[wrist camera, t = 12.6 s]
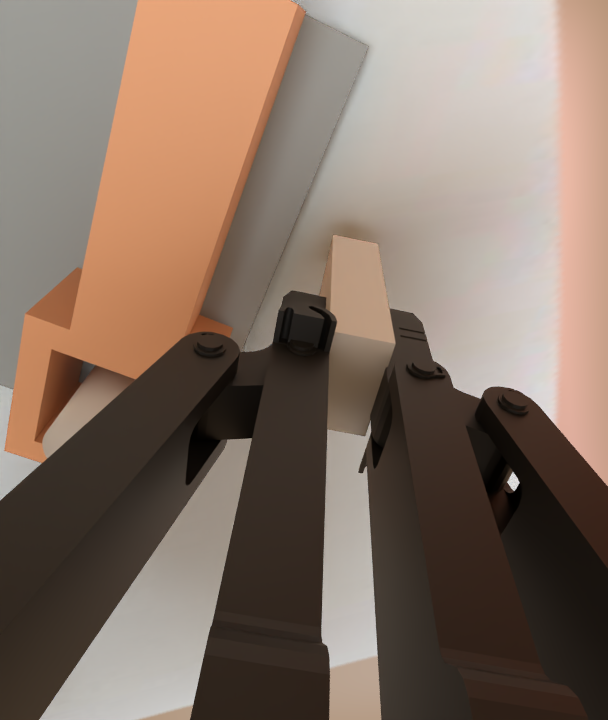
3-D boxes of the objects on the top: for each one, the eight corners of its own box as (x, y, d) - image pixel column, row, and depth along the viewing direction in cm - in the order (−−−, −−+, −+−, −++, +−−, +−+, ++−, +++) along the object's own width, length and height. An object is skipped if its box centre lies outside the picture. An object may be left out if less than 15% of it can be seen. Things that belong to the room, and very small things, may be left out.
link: (189, 438, 24) (165, 502, 21) (52, 390, 23) (4, 451, 20) (350, 34, 16) (354, 33, 12) (144, -70, 15) (87, -103, 11)
